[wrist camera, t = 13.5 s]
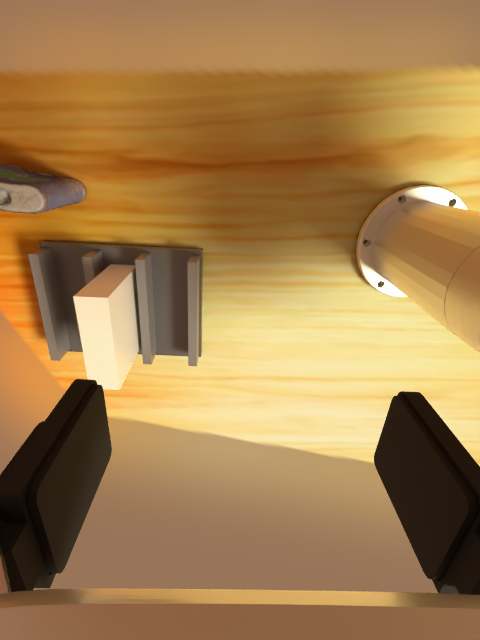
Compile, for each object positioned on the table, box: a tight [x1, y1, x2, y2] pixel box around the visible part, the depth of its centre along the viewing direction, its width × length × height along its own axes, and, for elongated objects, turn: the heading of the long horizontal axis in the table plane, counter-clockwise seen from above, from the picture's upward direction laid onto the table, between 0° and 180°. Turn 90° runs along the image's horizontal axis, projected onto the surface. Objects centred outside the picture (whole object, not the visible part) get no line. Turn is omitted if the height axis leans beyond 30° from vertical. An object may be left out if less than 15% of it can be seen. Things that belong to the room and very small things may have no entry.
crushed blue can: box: [0, 163, 86, 214], centre depth 31 cm, size 9×3×11 cm, turn 77°
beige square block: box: [73, 264, 142, 390], centre depth 36 cm, size 3×10×10 cm, turn 177°
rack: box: [28, 241, 203, 366], centre depth 40 cm, size 18×14×4 cm
